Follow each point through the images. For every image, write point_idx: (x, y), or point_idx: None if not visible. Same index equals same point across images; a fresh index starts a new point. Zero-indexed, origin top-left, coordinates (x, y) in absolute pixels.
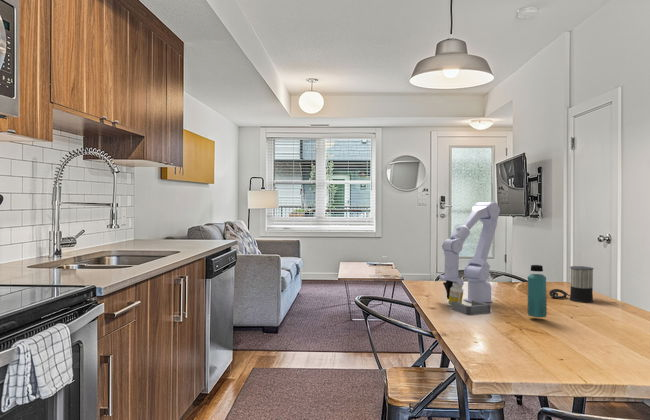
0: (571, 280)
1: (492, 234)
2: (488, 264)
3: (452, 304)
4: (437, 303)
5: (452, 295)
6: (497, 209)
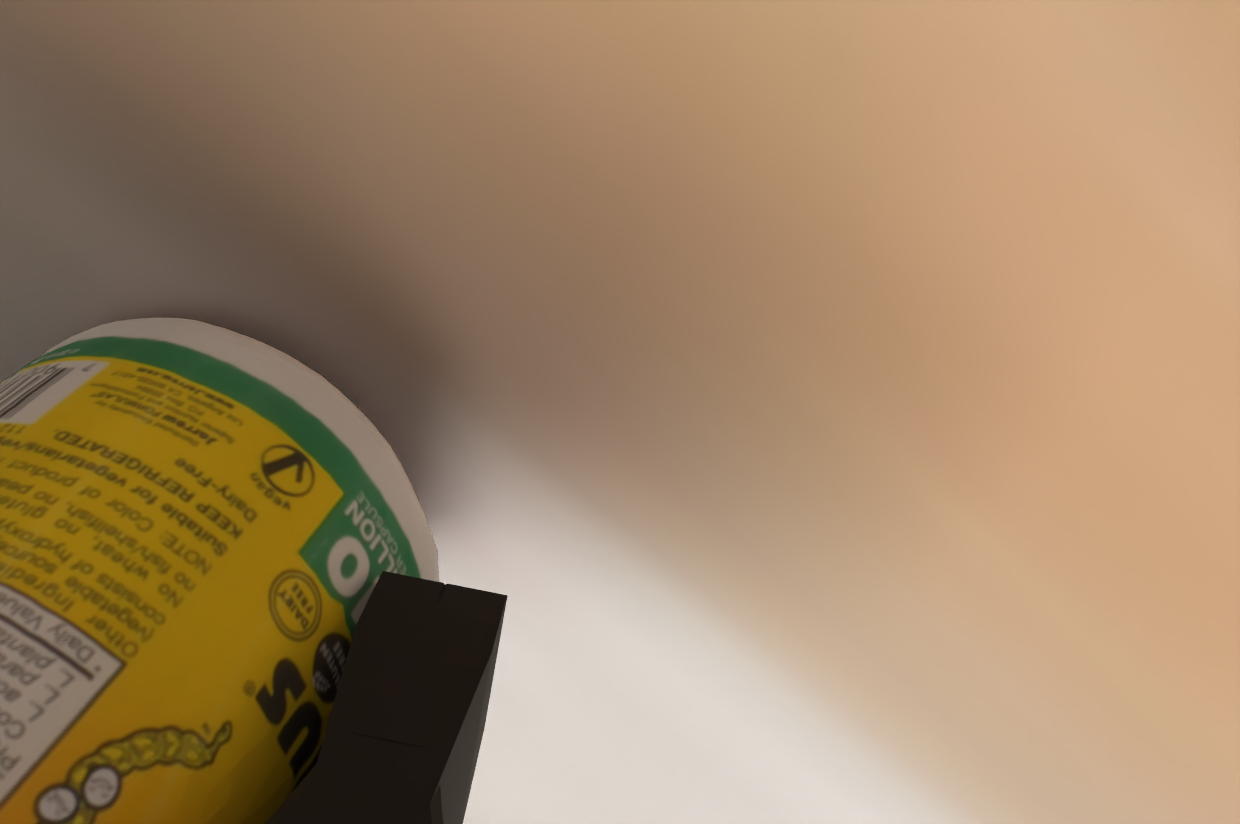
0: None
1: None
2: None
3: (56, 352)
4: (865, 280)
5: None
6: None
